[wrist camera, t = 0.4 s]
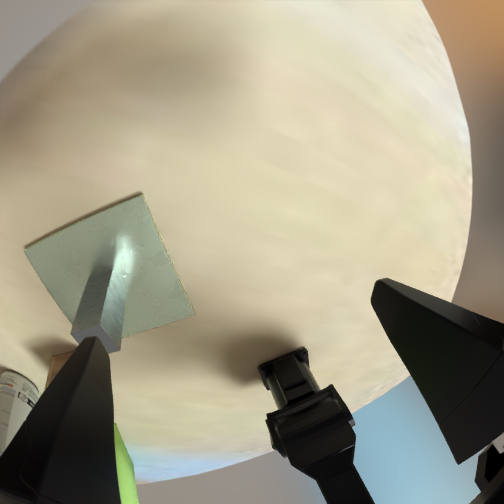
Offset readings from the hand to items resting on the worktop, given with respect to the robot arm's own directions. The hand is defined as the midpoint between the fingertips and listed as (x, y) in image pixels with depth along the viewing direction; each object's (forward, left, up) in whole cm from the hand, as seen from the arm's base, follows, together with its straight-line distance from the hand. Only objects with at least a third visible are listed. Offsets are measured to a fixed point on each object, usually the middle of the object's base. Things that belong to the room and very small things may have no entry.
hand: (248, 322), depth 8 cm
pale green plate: (-5, +10, -14) cm, 18 cm away
